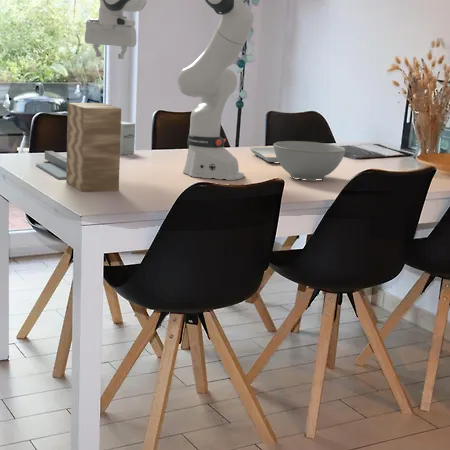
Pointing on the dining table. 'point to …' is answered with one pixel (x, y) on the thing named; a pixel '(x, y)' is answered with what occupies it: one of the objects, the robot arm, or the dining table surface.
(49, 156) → the bar
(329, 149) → the decorative bowl
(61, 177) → the mat
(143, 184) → the dining table surface
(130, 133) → the supplement box
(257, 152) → the square plate
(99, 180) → the pedestal
